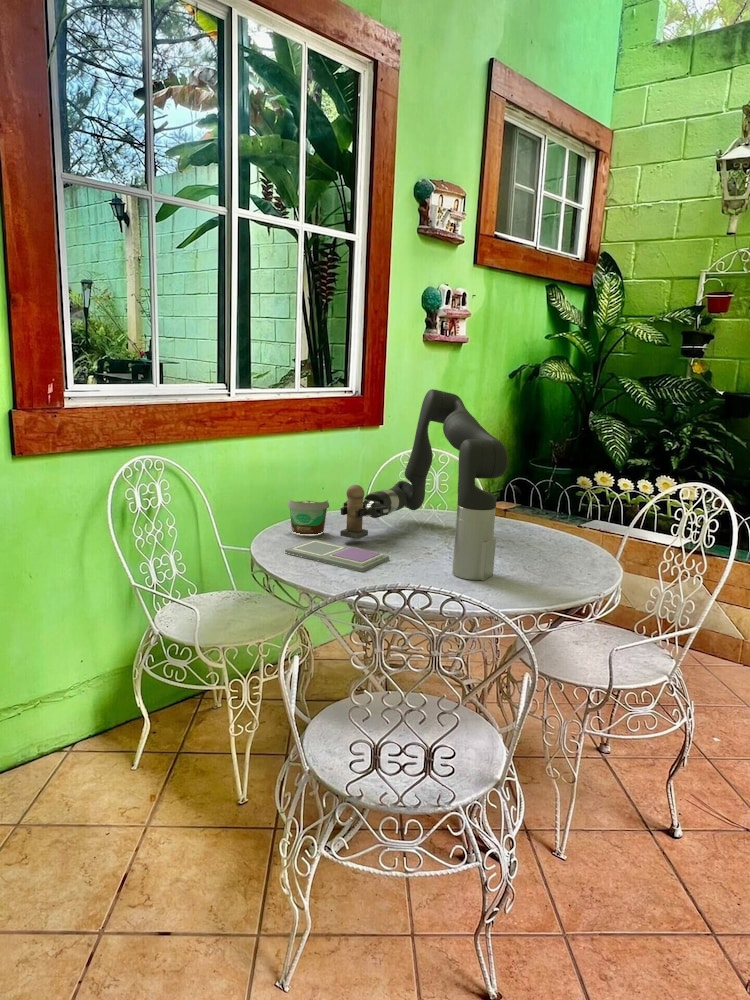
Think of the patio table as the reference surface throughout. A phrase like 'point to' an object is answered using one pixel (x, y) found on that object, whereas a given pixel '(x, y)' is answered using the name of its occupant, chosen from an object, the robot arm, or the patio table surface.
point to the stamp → (354, 513)
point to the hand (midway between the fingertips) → (349, 512)
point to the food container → (308, 516)
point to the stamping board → (338, 555)
